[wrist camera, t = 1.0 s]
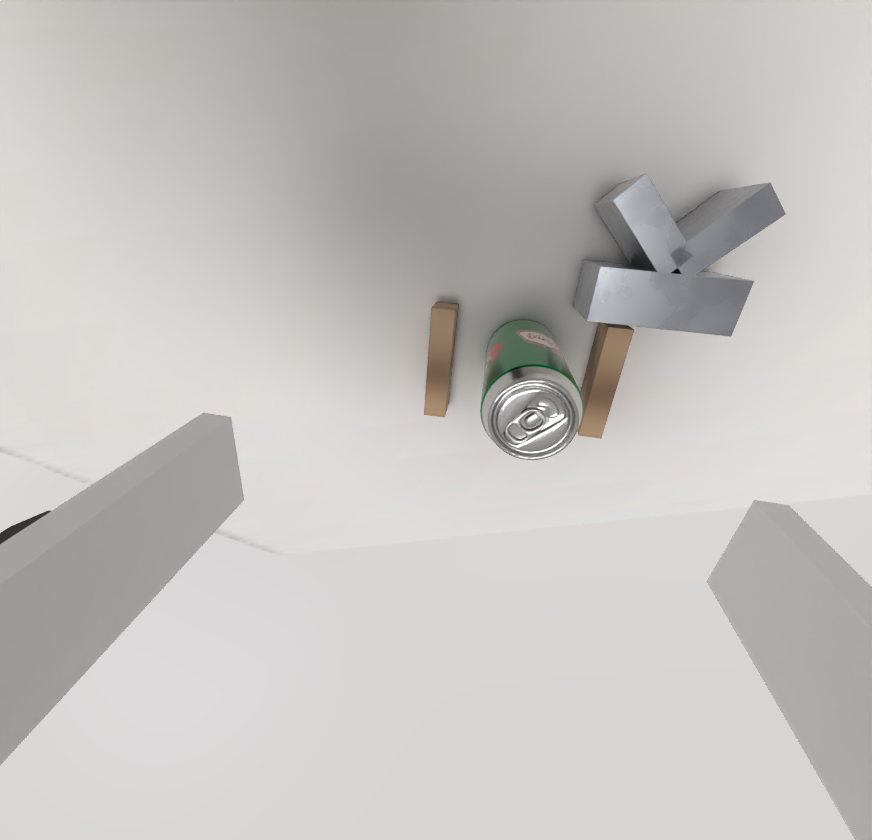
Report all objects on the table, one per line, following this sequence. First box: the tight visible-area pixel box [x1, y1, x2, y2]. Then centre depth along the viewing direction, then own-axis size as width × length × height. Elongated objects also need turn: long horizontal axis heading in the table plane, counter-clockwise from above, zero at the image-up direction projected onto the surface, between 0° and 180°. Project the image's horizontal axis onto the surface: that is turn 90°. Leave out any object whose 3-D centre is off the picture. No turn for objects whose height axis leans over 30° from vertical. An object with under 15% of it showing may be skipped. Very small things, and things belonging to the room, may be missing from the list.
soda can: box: [481, 320, 584, 460], centre depth 24 cm, size 5×5×12 cm
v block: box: [573, 174, 785, 336], centre depth 23 cm, size 8×8×5 cm
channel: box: [424, 302, 634, 438], centre depth 29 cm, size 8×13×2 cm, turn 86°
